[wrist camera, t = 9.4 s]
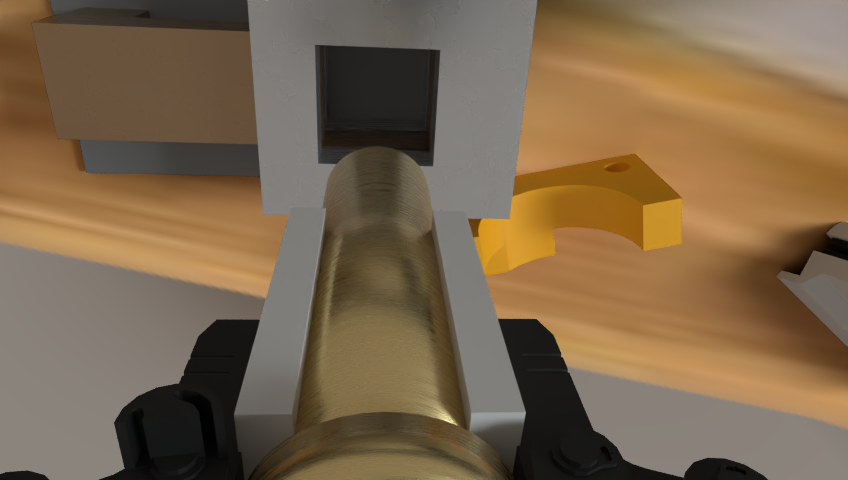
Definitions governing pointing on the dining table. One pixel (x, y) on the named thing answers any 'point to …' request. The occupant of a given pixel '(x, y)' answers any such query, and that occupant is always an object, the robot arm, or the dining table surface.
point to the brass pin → (380, 342)
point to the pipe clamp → (580, 211)
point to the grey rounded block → (825, 283)
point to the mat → (347, 97)
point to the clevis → (302, 89)
